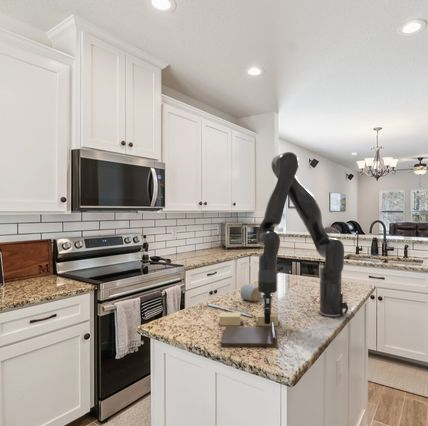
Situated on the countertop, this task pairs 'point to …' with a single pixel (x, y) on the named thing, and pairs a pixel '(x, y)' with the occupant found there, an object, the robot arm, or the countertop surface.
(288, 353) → the countertop surface
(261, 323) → the beige rectangular block
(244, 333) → the board
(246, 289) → the ceramic mug
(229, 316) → the pad
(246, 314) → the butter knife
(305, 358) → the countertop surface
